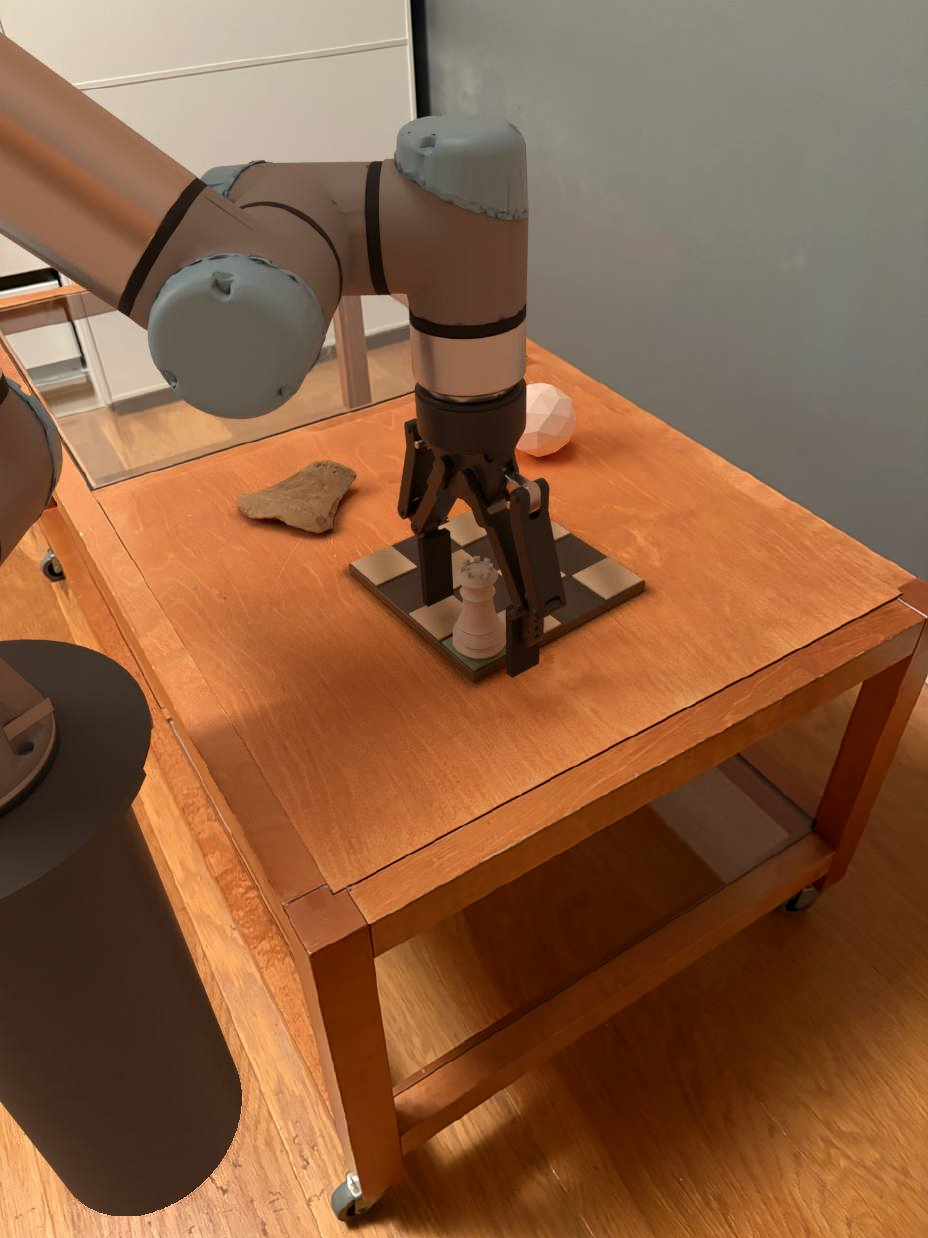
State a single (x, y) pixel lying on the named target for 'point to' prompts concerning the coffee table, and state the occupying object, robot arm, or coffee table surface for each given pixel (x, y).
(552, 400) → the geometric ball
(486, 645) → the rook chess piece
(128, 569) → the coffee table surface
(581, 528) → the coffee table surface
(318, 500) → the pottery shard
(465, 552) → the game board
